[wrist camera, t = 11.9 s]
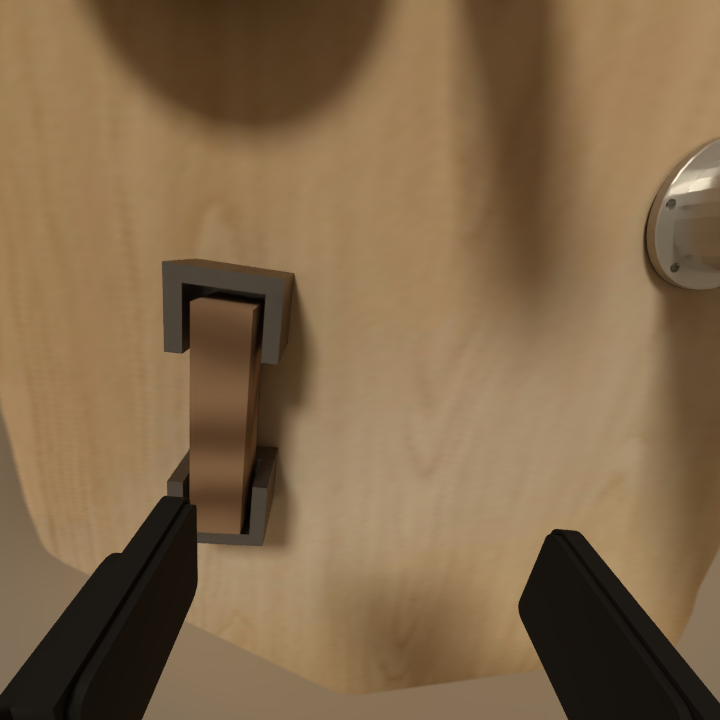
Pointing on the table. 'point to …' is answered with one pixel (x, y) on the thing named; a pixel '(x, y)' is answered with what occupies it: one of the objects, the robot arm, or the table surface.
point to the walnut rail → (224, 407)
